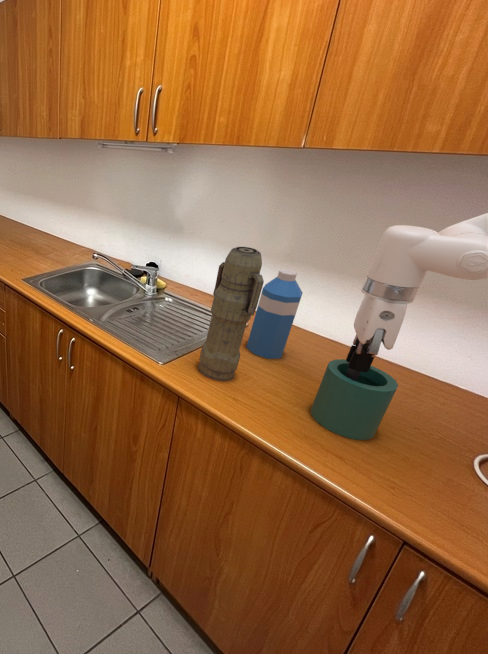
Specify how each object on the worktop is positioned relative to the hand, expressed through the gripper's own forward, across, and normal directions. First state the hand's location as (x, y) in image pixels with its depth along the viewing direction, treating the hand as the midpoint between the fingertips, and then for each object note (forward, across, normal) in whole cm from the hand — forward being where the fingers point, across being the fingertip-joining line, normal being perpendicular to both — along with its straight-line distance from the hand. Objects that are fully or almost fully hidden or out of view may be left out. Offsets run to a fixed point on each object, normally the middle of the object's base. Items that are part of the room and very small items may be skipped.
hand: (356, 366), depth 85 cm
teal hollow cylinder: (+15, 0, -1) cm, 15 cm away
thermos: (+15, +6, +25) cm, 29 cm away
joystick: (+13, 0, 0) cm, 13 cm away
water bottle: (+15, +25, +14) cm, 32 cm away
